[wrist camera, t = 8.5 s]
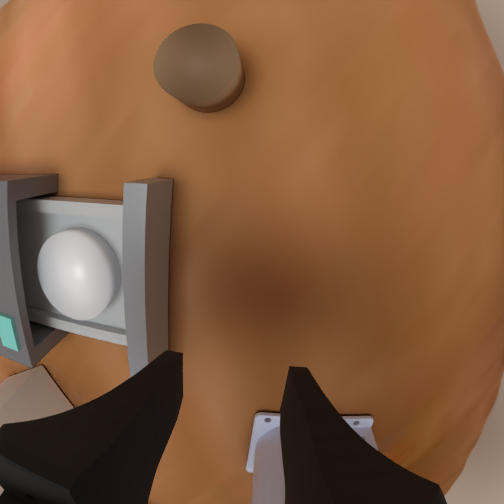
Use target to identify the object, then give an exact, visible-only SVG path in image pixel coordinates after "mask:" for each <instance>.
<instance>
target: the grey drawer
mask: <svg viewBox="0 0 504 504" xmlns="http://www.w3.org/2000/svg"><path fill="white" fill-rule="evenodd" d="M172 188H173V179H166V178H149V179H143V180H136V181H130V182H124V192H123V201H121V200H107V199H91V198H75V197H57V196H35V197H30V198H26V199H22V200H17V201H16V212H17V233H18V246H19V257H20V267H21V275H22V282H23V289H24V296H25V302H26V308H27V313H28V319H29V320H30V321H33V322H36V323H40V324H43V325H46V326H50V327H53V328H57V329H61V330H64V331H68V332H72V333H75V334H79V335H83V336H87V337H91V338H95V339H99V340H104V341H108V342H112V343H117V344H121V345H126V346H127V350H128V359H129V369H130V377H132V376H133V375H135V374H136V373H137V372H139V371H140V370H141V369H143V368H144V367H145V366H147V365H148V364H149V363H150V362H152V361H153V360H154V359H155V358H157V357H158V356H159V355H160V354H162V353H163V352H164V351H166V350H168V351H169V346H168V275H169V242H170V220H171V203H172ZM75 227H83V228H87V229H90V230H92V231H94V232H96V233H98V234H99V235H101V236H102V237H103V238H104V239H105V240H106V241H107V242H108V243H109V245H110V246H111V248H112V249H113V251H114V253H115V255H116V257H117V259H118V263H119V266H120V272H121V283H120V288H119V292H118V294H117V296H116V298H115V299H114V301H113V302H112V303H111V304H110V305H109V306H108V307H106V308H105V309H104V310H103V311H102V312H101V313H100V314H99V315H98V316H96V317H94V318H93V319H89V320H75V319H72V318H69V317H67V316H65V315H64V314H62V313H61V312H59V311H58V310H57V309H56V308H55V307H54V306H53V305H52V304H51V303H50V301H49V300H48V299H47V297H46V295H45V294H44V292H43V289H42V287H41V284H40V281H39V277H38V269H37V263H38V256H39V253H40V250H41V248H42V246H43V244H44V243H45V242H46V240H47V239H49V238H50V237H51V236H53V235H55V234H57V233H60V232H63V231H65V230H68V229H71V228H75Z"/></svg>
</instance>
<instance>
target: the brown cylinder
mask: <svg viewBox="0 0 504 504" xmlns="http://www.w3.org/2000/svg"><path fill="white" fill-rule="evenodd" d="M154 73H155V77H156V79H157V81H158V83H159V85H160V86H161V87H162V88H163V89H164V90H165V91H166V92H167V93H169V94H170V95H172V96H173V97H175V98H176V99H178V100H179V101H181V102H182V103H184V104H185V105H187V106H188V107H190V108H192V109H193V110H196V111H200V112H216V111H220V110H222V109H225V108H227V107H228V106H230V105H231V104H232V103H233V102H235V101H236V99H237V98H238V97H239V95H240V94H241V92H242V90H243V87H244V82H245V75H244V70H243V67H242V63H241V59H240V56H239V52H238V49H237V46H236V44H235V41H234V40H233V38H232V37H231V36H230V35H229V34H228V33H227V32H226V31H225V30H223V29H221V28H219V27H217V26H214V25H210V24H192V25H188V26H185V27H182V28H180V29H178V30H176V31H174V32H173V33H172V34H170V35H169V36H168V37H167V38H166V39H165V40H164V41H163V42H162V44H161V45H160V47H159V49H158V50H157V53H156V55H155V59H154Z"/></svg>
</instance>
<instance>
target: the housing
mask: <svg viewBox="0 0 504 504" xmlns="http://www.w3.org/2000/svg"><path fill="white" fill-rule="evenodd" d="M54 192H58V174H2V175H0V355H2V356H4V357H6V358H9V359H11V360H13V361H16V362H18V363H21V364H23V365H26V366H28V367H31V368H33V367H34V366H35V365H36V364H37V363H38V362H39V361H40V360H41V359H42V358H43V357H44V356H45V355H46V354H47V353H48V352H49V351H50V350H51V349H52V348H53V347H55V346H56V345H57V344H58V343H59V342H60V341H61V340H62V339H63V338H64V337H65V336H66V335H67V334H68V331H64V330H61V329H57V328H53V327H50V326H46V325H43V324H40V323H36V322H33V321H30V320H29V319H28V313H27V308H26V302H25V296H24V289H23V282H22V275H21V267H20V257H19V246H18V233H17V212H16V201H17V200H22V199H26V198H30V197H35V196H39V195H44V194H49V193H54Z"/></svg>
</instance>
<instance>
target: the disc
mask: <svg viewBox="0 0 504 504" xmlns="http://www.w3.org/2000/svg"><path fill="white" fill-rule="evenodd" d="M37 269H38V277H39V281H40V284H41V287H42V289H43V292H44V294H45V295H46V297H47V299H48V300H49V301H50V303H51V304H52V305H53V306H54V307H55V308H56V309H57V310H58V311H59V312H61V313H62V314H64V315H65V316H67V317H69V318H72V319H75V320H89V319H93V318H94V317H96V316H98V315H99V314H100V313H101V312H102V311H103V310H104V309H105V308H106V307H108V306H109V305H110V304H111V303H112V302H113V301H114V299H115V298H116V296H117V294H118V292H119V288H120V283H121V272H120V266H119V263H118V259H117V257H116V255H115V253H114V251H113V249H112V248H111V246H110V245H109V243H108V242H107V241H106V240H105V239H104V238H103V237H102V236H101V235H99V234H98V233H96V232H94V231H92V230H90V229H87V228H83V227H75V228H71V229H68V230H65V231H63V232H60V233H57V234H55V235H53V236H51V237H50V238H49V239H47V240H46V242H45V243H44V244H43V246H42V248H41V250H40V253H39V256H38V263H37Z"/></svg>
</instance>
